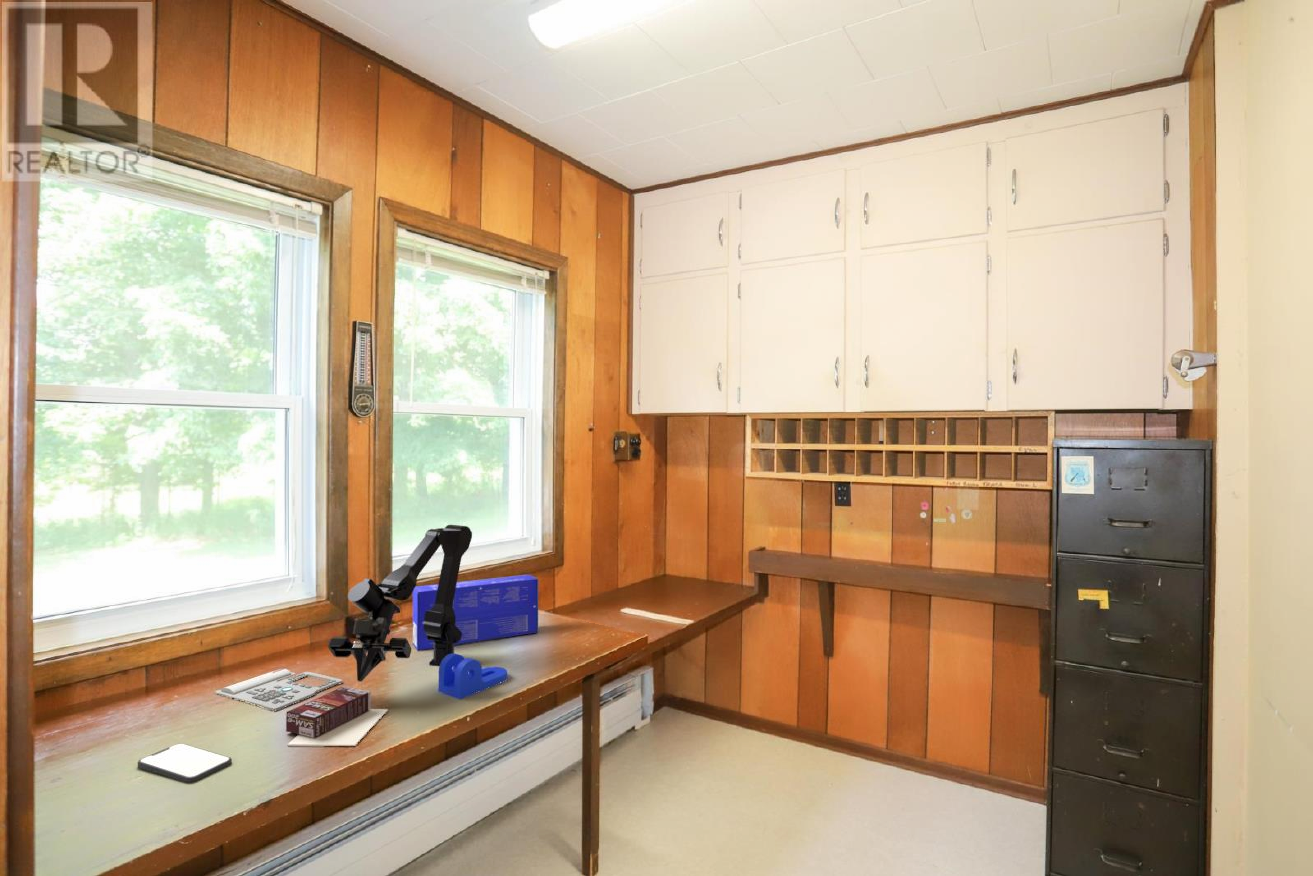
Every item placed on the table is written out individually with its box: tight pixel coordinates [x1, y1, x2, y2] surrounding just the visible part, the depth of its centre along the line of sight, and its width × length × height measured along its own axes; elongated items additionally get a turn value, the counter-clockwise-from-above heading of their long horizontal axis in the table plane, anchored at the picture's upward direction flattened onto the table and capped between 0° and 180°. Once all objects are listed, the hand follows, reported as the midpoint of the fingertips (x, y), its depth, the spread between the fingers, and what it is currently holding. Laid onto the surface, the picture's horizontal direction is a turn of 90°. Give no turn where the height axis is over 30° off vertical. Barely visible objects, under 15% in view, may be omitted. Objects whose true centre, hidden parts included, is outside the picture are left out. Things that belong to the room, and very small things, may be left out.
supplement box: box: [285, 685, 372, 738], centre depth 149 cm, size 9×5×16 cm
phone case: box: [137, 743, 233, 784], centre depth 129 cm, size 9×2×16 cm
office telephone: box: [214, 667, 343, 712], centre depth 168 cm, size 23×3×20 cm
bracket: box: [438, 652, 508, 700], centre depth 173 cm, size 18×8×9 cm, turn 145°
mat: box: [287, 708, 389, 747], centre depth 147 cm, size 18×14×1 cm
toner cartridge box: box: [412, 574, 539, 652], centre depth 212 cm, size 39×8×18 cm, turn 121°
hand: (359, 680), depth 156 cm, fingers closed
